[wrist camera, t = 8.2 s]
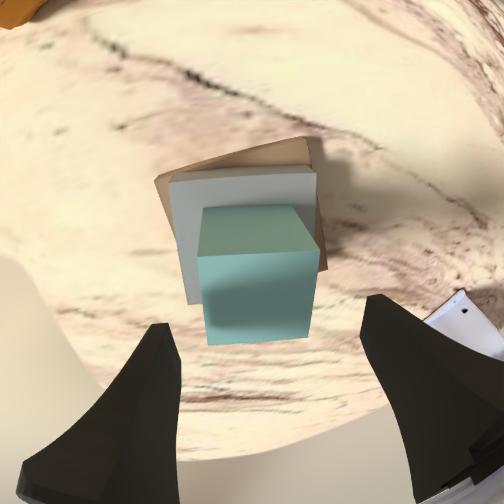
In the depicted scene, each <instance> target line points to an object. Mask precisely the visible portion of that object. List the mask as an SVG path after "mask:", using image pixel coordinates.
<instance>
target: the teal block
mask: <svg viewBox="0 0 504 504" xmlns="http://www.w3.org/2000/svg"><path fill="white" fill-rule="evenodd" d="M319 257H320V249H319V247H318V246H317V244H316V243H315V241H314V240H313V238H312V236H311V235H310V233H309V232H308V230H307V229H306V227H305V226H304V224H303V222H302V221H301V219H300V218H299V216H298V215H297V213H296V212H295V210H294V209H293V207H292V206H291V205H262V206H236V207H215V208H203V212H202V220H201V228H200V236H199V244H198V253H197V261H198V270H199V279H200V288H201V296H202V304H203V312H204V319H205V327H206V334H207V341H208V345H227V344H242V343H256V342H268V341H279V340H289V339H298V338H307V337H308V334H309V327H310V321H311V315H312V308H313V302H314V295H315V287H316V280H317V273H318V265H319Z"/></svg>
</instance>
